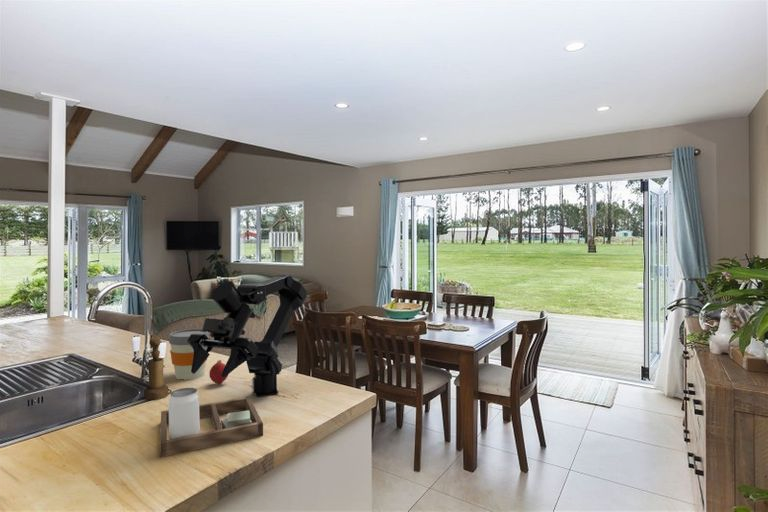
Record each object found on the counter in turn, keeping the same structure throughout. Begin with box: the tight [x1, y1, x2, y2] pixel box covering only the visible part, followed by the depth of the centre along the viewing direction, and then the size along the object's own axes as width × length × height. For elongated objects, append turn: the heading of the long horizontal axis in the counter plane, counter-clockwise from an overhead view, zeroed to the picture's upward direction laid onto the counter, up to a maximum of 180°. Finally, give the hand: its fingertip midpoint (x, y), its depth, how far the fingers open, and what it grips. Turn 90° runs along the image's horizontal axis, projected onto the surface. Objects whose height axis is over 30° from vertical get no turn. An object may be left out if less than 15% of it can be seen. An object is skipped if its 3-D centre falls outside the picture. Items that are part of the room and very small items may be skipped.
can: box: [168, 387, 201, 440], centre depth 99 cm, size 6×6×12 cm
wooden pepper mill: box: [143, 336, 169, 401], centre depth 127 cm, size 7×6×18 cm
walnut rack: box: [159, 396, 264, 458], centre depth 106 cm, size 22×19×3 cm
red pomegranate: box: [208, 359, 229, 385], centre depth 137 cm, size 6×6×8 cm
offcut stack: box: [220, 410, 252, 429], centre depth 104 cm, size 7×6×4 cm
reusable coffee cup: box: [168, 328, 210, 381], centre depth 146 cm, size 13×13×15 cm
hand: (207, 374), depth 106 cm, fingers open, 9 cm apart
